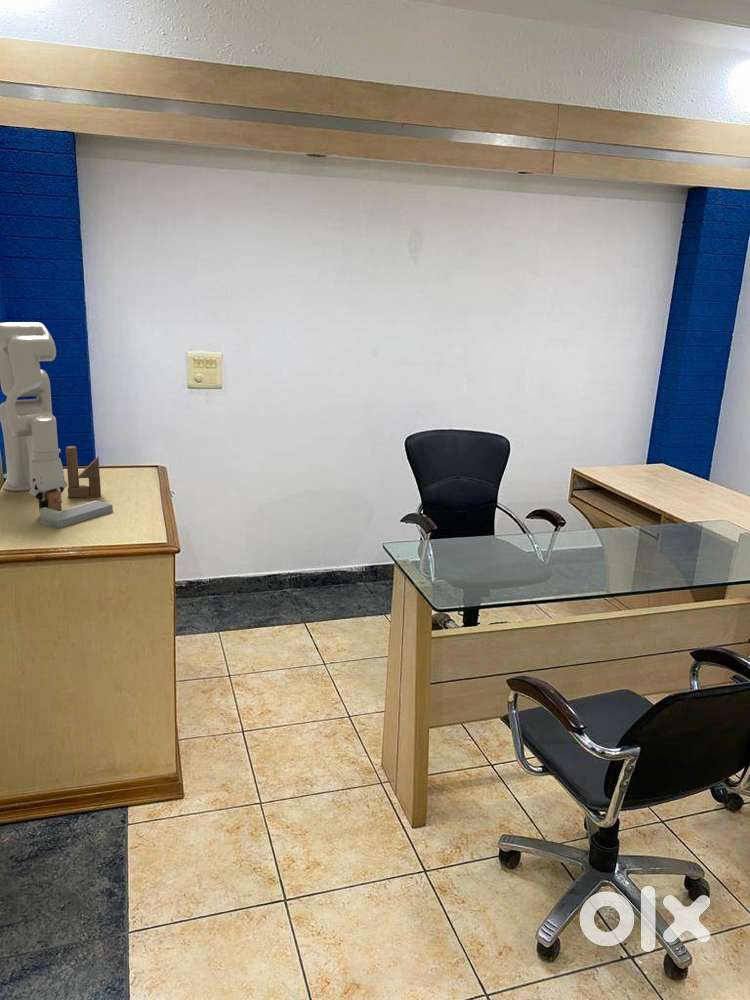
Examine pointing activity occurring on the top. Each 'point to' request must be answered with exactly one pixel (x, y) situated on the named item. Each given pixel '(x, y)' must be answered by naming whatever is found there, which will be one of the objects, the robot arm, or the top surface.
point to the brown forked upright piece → (82, 476)
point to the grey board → (74, 514)
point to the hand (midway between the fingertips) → (50, 509)
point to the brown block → (53, 500)
